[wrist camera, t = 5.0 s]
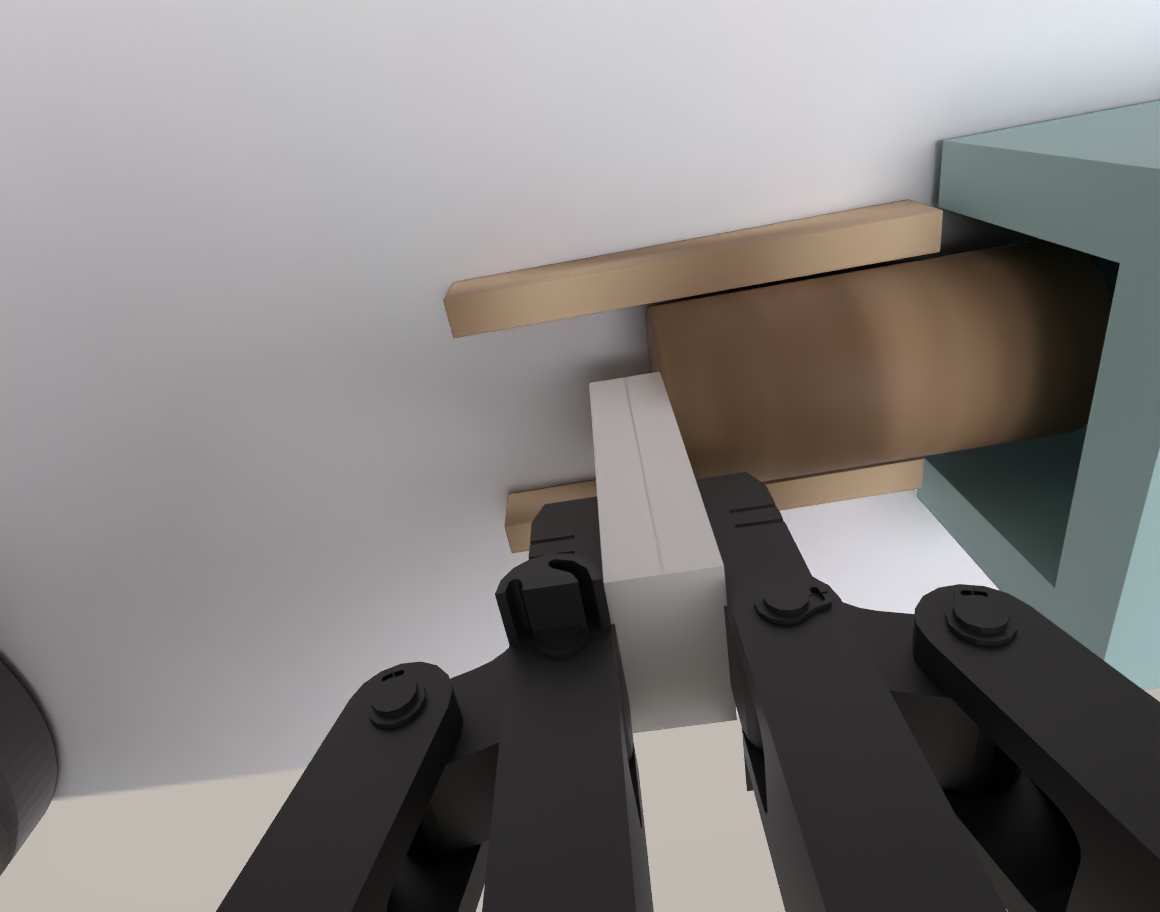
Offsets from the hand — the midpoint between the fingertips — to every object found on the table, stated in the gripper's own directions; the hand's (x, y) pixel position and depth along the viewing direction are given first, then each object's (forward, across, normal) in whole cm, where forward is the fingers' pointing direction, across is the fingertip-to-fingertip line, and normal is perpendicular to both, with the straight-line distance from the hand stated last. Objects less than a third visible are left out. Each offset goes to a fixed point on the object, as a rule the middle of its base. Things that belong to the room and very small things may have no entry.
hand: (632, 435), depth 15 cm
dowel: (+2, +5, 0) cm, 5 cm away
